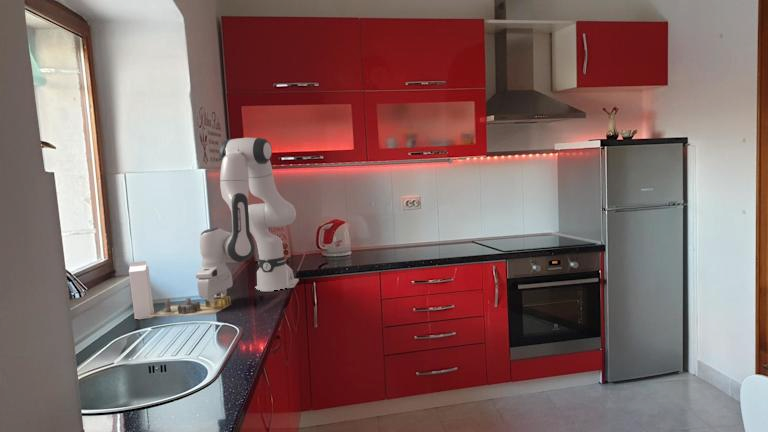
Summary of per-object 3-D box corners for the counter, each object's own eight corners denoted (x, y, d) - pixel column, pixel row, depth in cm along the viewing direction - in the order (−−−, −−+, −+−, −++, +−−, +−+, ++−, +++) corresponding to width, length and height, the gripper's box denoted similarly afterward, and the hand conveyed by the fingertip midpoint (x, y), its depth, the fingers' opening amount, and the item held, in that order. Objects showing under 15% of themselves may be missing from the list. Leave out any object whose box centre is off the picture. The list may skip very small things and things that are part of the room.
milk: (151, 317, 199) (144, 262, 197) (134, 320, 198) (127, 263, 196) (154, 313, 205) (147, 259, 203) (137, 316, 204) (131, 261, 202)
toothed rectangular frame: (213, 303, 208) (212, 296, 207) (231, 303, 206) (230, 295, 206) (205, 308, 202) (204, 300, 201) (224, 307, 200) (223, 299, 200)
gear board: (172, 308, 211) (170, 293, 210) (232, 307, 205) (230, 291, 205) (148, 320, 196) (146, 303, 196) (213, 318, 191) (211, 301, 190)
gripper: (220, 264, 213) (224, 297, 214) (193, 275, 193) (197, 311, 195) (234, 263, 212) (238, 296, 213) (208, 274, 192) (212, 310, 193)
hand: (218, 303), depth 204 cm, fingers closed on toothed rectangular frame, 6 cm apart
